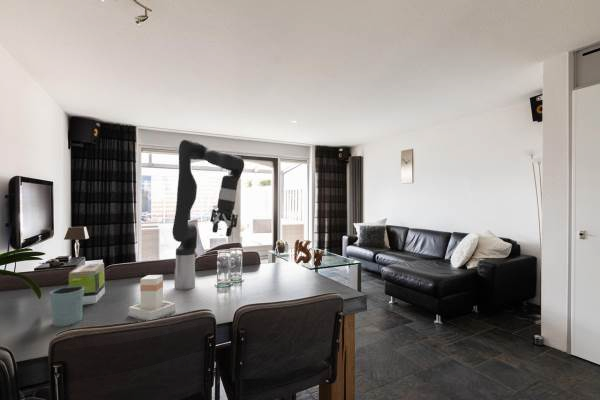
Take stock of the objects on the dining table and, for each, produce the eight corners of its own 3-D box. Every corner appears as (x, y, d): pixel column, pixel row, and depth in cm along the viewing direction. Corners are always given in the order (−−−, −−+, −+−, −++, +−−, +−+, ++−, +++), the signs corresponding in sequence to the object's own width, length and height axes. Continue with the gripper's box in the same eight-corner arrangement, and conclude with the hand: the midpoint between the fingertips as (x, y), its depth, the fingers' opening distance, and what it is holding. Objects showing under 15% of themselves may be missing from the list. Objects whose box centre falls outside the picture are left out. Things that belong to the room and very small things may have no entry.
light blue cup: (60, 329, 103) (60, 295, 103) (43, 324, 107) (43, 291, 107) (90, 318, 113) (90, 287, 113) (73, 314, 117) (73, 284, 116)
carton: (140, 315, 114) (140, 279, 114) (147, 309, 120) (147, 275, 120) (156, 315, 114) (156, 278, 114) (163, 309, 120) (162, 274, 120)
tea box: (80, 295, 139) (80, 264, 139) (105, 293, 143) (105, 262, 142) (68, 306, 125) (68, 272, 125) (96, 303, 128) (96, 270, 128)
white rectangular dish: (128, 315, 115) (128, 307, 115) (153, 306, 125) (153, 298, 125) (150, 322, 109) (150, 312, 109) (175, 311, 119) (175, 303, 119)
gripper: (209, 196, 134) (204, 231, 134) (232, 200, 126) (226, 237, 126) (222, 197, 140) (216, 231, 140) (244, 201, 133) (238, 237, 133)
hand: (221, 234), depth 133 cm, fingers open, 8 cm apart
